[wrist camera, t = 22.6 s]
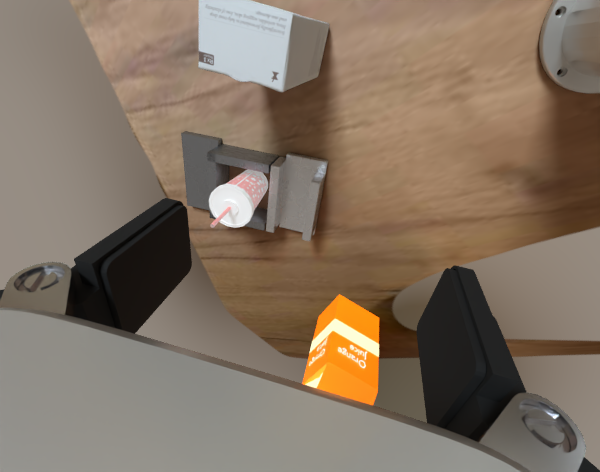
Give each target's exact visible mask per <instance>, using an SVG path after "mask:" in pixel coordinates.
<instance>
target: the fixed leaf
mask: <svg viewBox="0 0 600 472" xmlns="http://www.w3.org/2000/svg"><path fill="white" fill-rule="evenodd" d="M181 135H182V147H183V158H184V170H185V181H186V193H187V204H188V206H193V207H197V208H201V209H206V210H210V207H209V198H210V195H211V192H212V191H214V190H215V189H216V188H217V187H219V186H220V185H224V184H226V183H228V182H229V165H230V166H235V167H240V168H244V169H249V170H254V171H258V172H263V173H269V172H270V171H271V165H272V164H273V163H274V162H275V161H276V160H277V159H278V158H279V155H274V154H269V153H264V152H259V151H254V150H249V149H244V148H240V147H235V146H230V145H225V144H222V138H217V137H212V136H207V135H202V134H197V133H192V132H187V131H185V132H183V133H181ZM267 211H268V209H264V208H260V207H256V208H255V210H254V213H253V215H252V217H251V219H250V221H249V222H248V223H247V224H245V225H244V226H247V227H251V228H255V229H259V230H265V229H266V224H267ZM210 218H213V219H216V218H215V217H214V216H213V214H212V212H211V210H210Z"/></svg>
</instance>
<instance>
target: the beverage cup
mask: <svg viewBox="0 0 600 472" xmlns="http://www.w3.org/2000/svg"><path fill="white" fill-rule="evenodd" d="M267 189H268V181H267V178H266V176H265V175H264V174H263V173H262V172H258V171H254V170H249V169H248V170H246V171H244V172H243V173H241V174H240V175H238V176H237V177H235V178H234V179H232V180H231V181H229V182H228V183H226V184H224V185H220V186H219V187H217V188H216V189H215V190H214V191H212V192H211V195H210V198H209V207H210V210H211V212H212V214H213V216H214V217H215V218H216V220H215V221H214V222H213V223H212V224H211V225H210V226H211V227H212V228H213V227H214V226H215V225H216V224H217V223H218V222H220V223H222V224H224V225H226V226H228V227H234V228H237V227H242V226H244V225H245V224H247V223H248V222H249V221H250V219H251V217H252V215H253V213H254V210H255V208H256V207H257V205H258V204H259V202H260V201H261V199H262V198H263V196H264V194H265V193H266V191H267Z"/></svg>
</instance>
